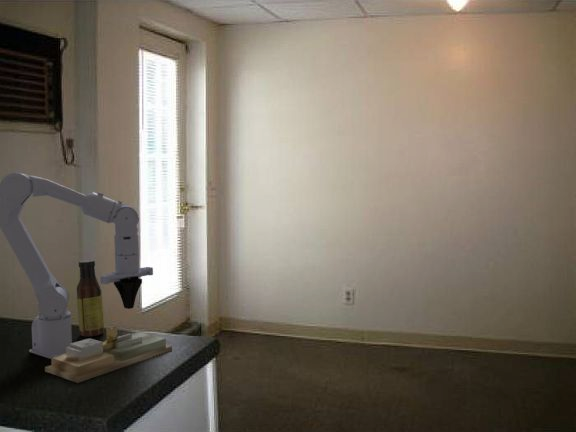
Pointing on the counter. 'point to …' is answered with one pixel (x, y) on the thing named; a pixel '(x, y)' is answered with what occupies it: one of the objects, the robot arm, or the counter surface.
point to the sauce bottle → (89, 301)
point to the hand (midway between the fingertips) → (128, 307)
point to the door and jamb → (108, 359)
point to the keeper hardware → (96, 347)
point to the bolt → (110, 338)
